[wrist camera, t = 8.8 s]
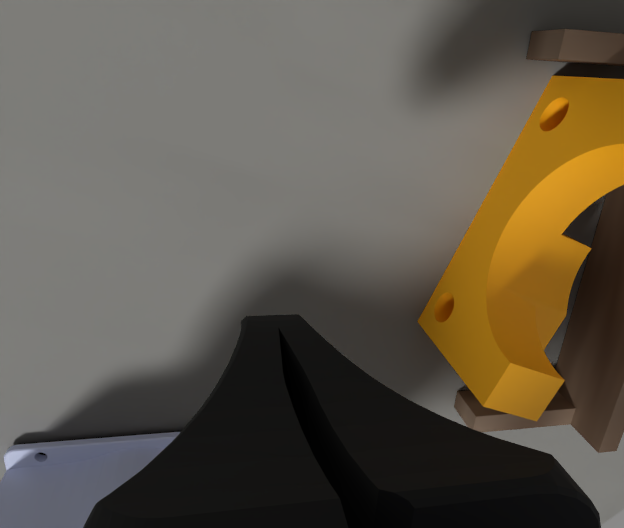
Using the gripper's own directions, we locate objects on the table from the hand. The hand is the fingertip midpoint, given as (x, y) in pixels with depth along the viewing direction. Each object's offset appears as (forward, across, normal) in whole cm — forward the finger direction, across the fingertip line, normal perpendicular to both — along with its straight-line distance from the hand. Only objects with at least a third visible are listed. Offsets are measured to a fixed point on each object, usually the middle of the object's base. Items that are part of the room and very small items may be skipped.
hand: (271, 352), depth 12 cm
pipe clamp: (+10, -12, 0) cm, 16 cm away
